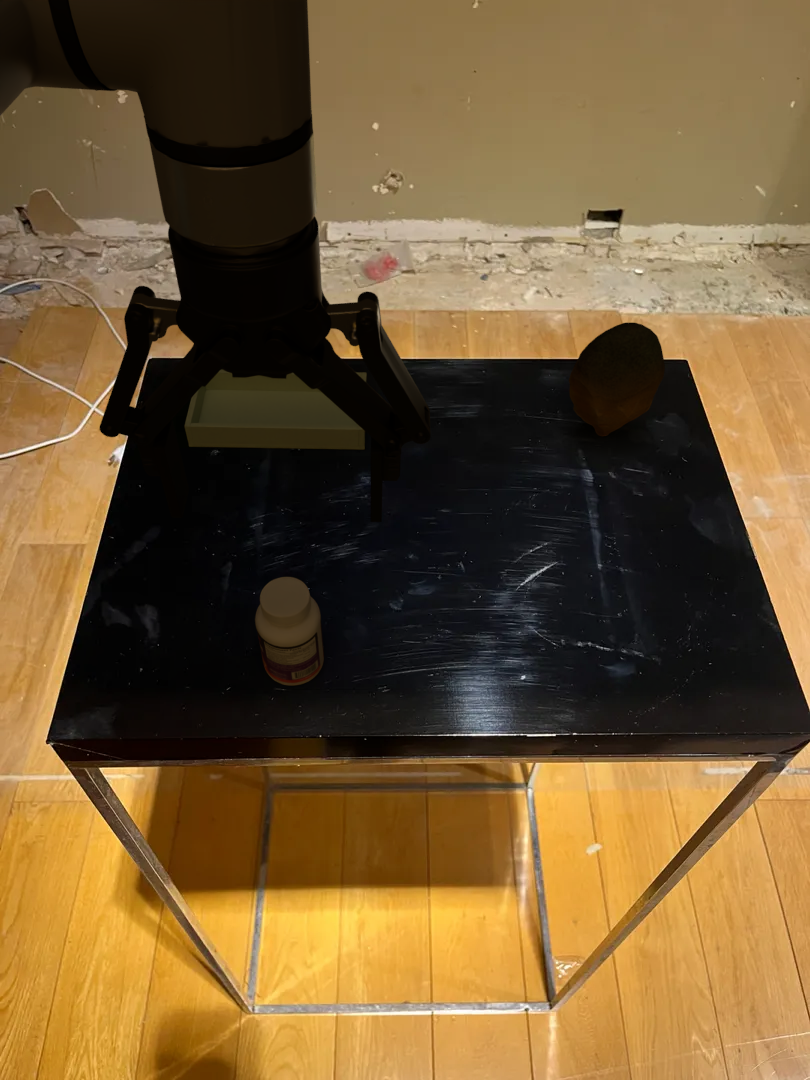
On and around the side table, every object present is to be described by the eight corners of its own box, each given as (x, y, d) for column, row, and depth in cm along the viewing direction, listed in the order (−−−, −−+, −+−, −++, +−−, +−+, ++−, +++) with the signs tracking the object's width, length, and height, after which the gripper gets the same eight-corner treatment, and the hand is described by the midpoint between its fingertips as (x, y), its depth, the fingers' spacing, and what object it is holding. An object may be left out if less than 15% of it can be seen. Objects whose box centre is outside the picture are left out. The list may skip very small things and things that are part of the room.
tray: (189, 446, 90) (184, 426, 88) (202, 389, 97) (198, 368, 94) (364, 449, 91) (364, 429, 88) (366, 392, 97) (366, 372, 95)
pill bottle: (273, 630, 75) (262, 564, 68) (331, 641, 75) (326, 575, 67) (255, 681, 72) (241, 617, 64) (315, 693, 71) (308, 629, 64)
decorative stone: (636, 419, 95) (672, 308, 84) (645, 456, 91) (685, 344, 80) (553, 417, 95) (577, 305, 84) (559, 453, 91) (585, 341, 80)
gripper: (486, 188, 44) (455, 471, 60) (13, 174, 43) (110, 463, 60) (496, 265, 39) (459, 550, 55) (-37, 250, 38) (84, 543, 55)
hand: (278, 505), depth 57 cm, fingers open, 13 cm apart
